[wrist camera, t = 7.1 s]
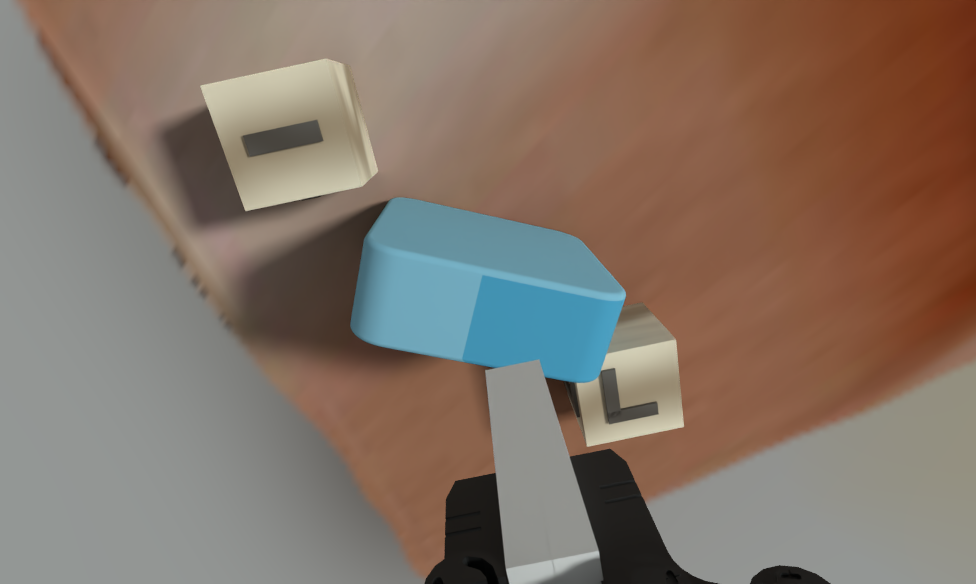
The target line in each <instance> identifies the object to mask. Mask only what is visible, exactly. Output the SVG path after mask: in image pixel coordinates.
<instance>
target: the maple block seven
mask: <svg viewBox="0 0 976 584" xmlns="http://www.w3.org/2000/svg"><path fill="white" fill-rule="evenodd" d="M564 384H565V387H566V390H567V392H568V397H569V399H570V402H571V405H572V407H573V410H574V413H575V415H576V418H577V421H578V423H579V426H580V429H581V431H582V434H583V437H584V439H585V442H586V445H587V447H588V446H593V445H598V444H603V443H608V442H612V441H617V440H622V439H627V438H632V437H637V436H642V435H647V434H651V433H656V432H661V431H666V430H671V429H676V428H681V427H684V423H683V412H682V401H681V390H680V379H679V368H678V357H677V346H676V339H675V338H674V337H673V336H672V335H671V333H670V332H669V331H668V330H667V329H666V328H665V327H664V326H663V325H662V323H661V322H660V321H659V320H658V319H657V318H656V317H655V316H654V315H653V314H652V312H651V311H650V310H649V309H648V308H647V307H646V306H645V305H644V304H643V303H637V304H632V305H627V306H623V307H622V309H621V312H620V315H619V318H618V321H617V324H616V327H615V330H614V333H613V336H612V339H611V342H610V345H609V348H608V351H607V354H606V357H605V360H604V363H603V366H602V369H601V372H600V374H599V376H598V378H596V379H595V380H593V381H591V382H587V383H574V382H568V381H564Z"/></svg>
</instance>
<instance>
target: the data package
mask: <svg viewBox="0 0 976 584" xmlns="http://www.w3.org/2000/svg"><path fill="white" fill-rule="evenodd" d="M625 297H626V293H625V290H624V289H623V288H622V287H621V285H620V284H619V283H618V282H617V281H616V280H615V279H614V277H613V276H612V275H611V274H610V273H609V272H608V271H607V269H606V268H605V267H604V266H603V265H602V264H601V263H600V261H599V260H598V259H597V258H596V257H595V256H594V255H593V253H592V252H591V251H590V250H589V249H588V248H587V247H586V246H585V244H584V243H583V242H582V241H581V240H580V239H578V238H576V237H574V236H572V235H569V234H566V233H563V232H559V231H556V230H551V229H547V228H542V227H538V226H533V225H529V224H524V223H520V222H515V221H511V220H506V219H502V218H497V217H493V216H488V215H484V214H479V213H475V212H470V211H466V210H461V209H457V208H452V207H448V206H443V205H439V204H434V203H430V202H425V201H421V200H416V199H410V198H393V199H391V200H389V202H388V203H387V205H386V206H385V208H384V209H383V211H382V212H381V214H380V215H379V217H378V218H377V220H376V221H375V223H374V224H373V226H372V227H371V229H370V230H369V232H368V233H367V235H366V236H365V239H364V243H363V250H362V256H361V262H360V268H359V274H358V280H357V286H356V292H355V298H354V304H353V310H352V316H351V323H350V326H351V329H352V331H353V333H354V334H355V335H356V336H357V337H359V338H360V339H362V340H363V341H365V342H367V343H370V344H373V345H376V346H380V347H385V348H390V349H396V350H401V351H406V352H412V353H417V354H423V355H428V356H433V357H439V358H444V359H450V360H455V361H460V362H466V363H471V364H476V365H482V366H487V367H493V368H499V367H504V366H509V365H514V364H519V363H524V362H529V361H534V360H540V364H541V367H542V370H543V373H544V377H547V378H552V379H557V380H563V381H568V382H574V383H587V382H591V381H593V380H595V379H596V378H598V376H599V374H600V372H601V369H602V366H603V363H604V360H605V357H606V354H607V351H608V348H609V345H610V342H611V339H612V336H613V333H614V330H615V327H616V324H617V321H618V318H619V315H620V312H621V309H622V306H623V303H624V300H625Z"/></svg>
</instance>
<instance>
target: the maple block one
mask: <svg viewBox="0 0 976 584" xmlns="http://www.w3.org/2000/svg"><path fill="white" fill-rule="evenodd" d="M200 87H201V89H202V92H203V95H204V98H205V101H206V103H207V106H208V109H209V112H210V114H211V117H212V120H213V123H214V126H215V128H216V131H217V134H218V137H219V139H220V142H221V145H222V148H223V150H224V153H225V156H226V159H227V162H228V164H229V167H230V170H231V173H232V175H233V178H234V181H235V184H236V187H237V189H238V192H239V195H240V198H241V200H242V203H243V206H244V209H245V211H249V210H254V209H258V208H263V207H268V206H273V205H277V204H282V203H287V202H291V201H296V200H307V199H312V198H316V197H320V196H322V195H325V194H329V193H334V192H339V191H343V190H348V189H353V188H358V187H362V186H363V185H364V184H365V183H366V182H367V181H368V180H370V179H371V178H372V177H373V176H374V175H375V174H376V173H377V172H378V169H377V165H376V162H375V158H374V154H373V150H372V147H371V143H370V139H369V135H368V132H367V128H366V124H365V120H364V117H363V113H362V109H361V105H360V102H359V98H358V94H357V90H356V87H355V83H354V79H353V76H352V72H351V68H350V66H349V65H346V64H342V63H339V62H336V61H332V60H329V59H322V60H317V61H313V62H308V63H303V64H299V65H294V66H289V67H285V68H280V69H276V70H271V71H266V72H262V73H257V74H252V75H248V76H243V77H239V78H234V79H229V80H225V81H220V82H215V83H211V84H206V85H201V86H200Z"/></svg>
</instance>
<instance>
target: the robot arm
mask: <svg viewBox="0 0 976 584" xmlns="http://www.w3.org/2000/svg"><path fill="white" fill-rule="evenodd" d="M485 373H486V383H487V392H488V402H489V412H490V421H491V431H492V440H493V450H494V460H495V469H496V473H493V474H488V475H483V476H478V477H473V478H468V479H463V480H458V481H455V483H454V485H453V487H452V489H451V491H450V493H449V494H448V496H447V498H446V522H445V535H446V538H445V559H444V560H443V561H441V562H440V563H439V564H437V565H436V566H435V567H434V568H433V570H432V571H431V573H430V574H429V575H428V577H427V578H426V581H425V584H718V583H713V582H708V581H704V580H702V579H699V578H697V577H694V576H692V575H691V574H689V573H688V572H686V571H684V570H683V569H682V568H680V567H679V566H678V565H677V564H676V563H675V562H674V561H673V559H672V558H671V556H670V555H669V553H668V551H667V549H666V547H665V545H664V543H663V540H662V538H661V536H660V534H659V532H658V530H657V527H656V525H655V523H654V521H653V519H652V517H651V514H650V512H649V510H648V508H647V506H646V504H645V501H644V499H643V497H642V496H641V493H640V491H639V488H638V486H637V484H636V483H635V481H634V478H633V475H632V473H631V471H630V469H629V467H628V465H627V462H626V461H625V460H623V459H622V458H621V457H620V456H618V455H617V454H616V453H615V452H614V451H612V450H611V449H607V450H601V451H596V452H591V453H586V454H581V455H576V456H571V457H569V454H568V450H567V447H566V444H565V441H564V438H563V434H562V431H561V428H560V425H559V422H558V418H557V415H556V412H555V409H554V405H553V402H552V399H551V396H550V393H549V389H548V386H547V383H546V380H545V377H544V373H543V370H542V367H541V364H540V360H534V361H529V362H524V363H519V364H514V365H509V366H504V367H499V368H494V369H489V370H485ZM750 584H830V583H829V582H827V581H826V580H824V579H823V578H822V577H820V576H819V575H817V574H815V573H812V572H810V571H807V570H804V569H801V568H799V567H790V566H780V565H779V566H775V567H771V568H766V569H763V570H762V571H760V572H759V573H758V574H757V575H755V576H754V577H753V578H752V580H751V583H750Z"/></svg>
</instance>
